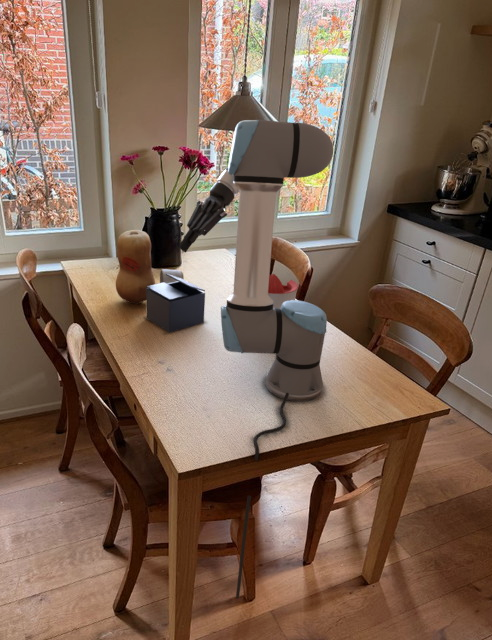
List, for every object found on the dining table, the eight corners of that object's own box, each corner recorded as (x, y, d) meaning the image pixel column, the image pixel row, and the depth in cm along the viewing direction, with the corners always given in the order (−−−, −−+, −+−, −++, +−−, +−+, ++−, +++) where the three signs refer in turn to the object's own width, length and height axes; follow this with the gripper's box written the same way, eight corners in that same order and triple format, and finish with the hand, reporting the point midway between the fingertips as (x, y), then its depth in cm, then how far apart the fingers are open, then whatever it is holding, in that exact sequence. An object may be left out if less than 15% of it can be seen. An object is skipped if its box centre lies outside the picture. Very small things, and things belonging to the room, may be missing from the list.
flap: (180, 279, 179) (181, 278, 179) (204, 291, 171) (205, 290, 171) (165, 274, 174) (166, 273, 174) (189, 287, 166) (190, 285, 166)
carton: (180, 309, 185) (181, 278, 179) (203, 322, 176) (205, 290, 171) (146, 318, 177) (146, 286, 171) (169, 332, 168) (169, 299, 163)
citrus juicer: (301, 330, 176) (310, 271, 166) (276, 348, 163) (284, 287, 153) (260, 317, 183) (266, 260, 173) (233, 334, 170) (238, 274, 160)
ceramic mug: (184, 292, 199) (184, 272, 195) (162, 293, 196) (162, 273, 193) (178, 282, 207) (178, 263, 204) (157, 283, 205) (157, 264, 202)
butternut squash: (110, 306, 183) (107, 234, 171) (123, 292, 195) (121, 224, 182) (149, 311, 182) (149, 239, 169) (160, 297, 193) (160, 228, 180)
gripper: (245, 201, 166) (201, 262, 164) (218, 193, 174) (176, 250, 173) (233, 184, 160) (187, 247, 159) (206, 177, 168) (162, 236, 167)
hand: (181, 249), depth 166 cm, fingers closed
